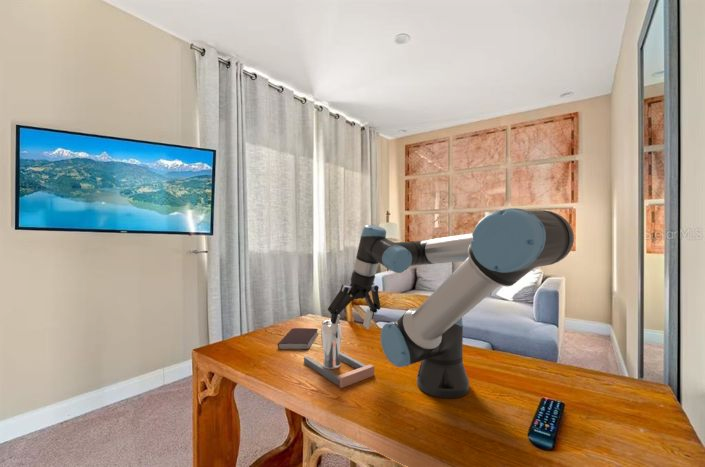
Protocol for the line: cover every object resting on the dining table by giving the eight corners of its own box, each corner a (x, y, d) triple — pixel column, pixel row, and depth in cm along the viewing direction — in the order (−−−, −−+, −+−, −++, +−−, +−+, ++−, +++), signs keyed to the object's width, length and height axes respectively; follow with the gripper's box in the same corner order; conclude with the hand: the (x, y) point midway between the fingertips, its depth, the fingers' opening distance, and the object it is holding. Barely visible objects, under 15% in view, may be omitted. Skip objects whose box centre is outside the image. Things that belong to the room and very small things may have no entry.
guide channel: (374, 375, 105) (374, 366, 105) (341, 387, 97) (341, 378, 97) (334, 353, 123) (334, 345, 123) (304, 362, 115) (303, 354, 115)
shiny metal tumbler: (342, 361, 116) (342, 320, 115) (340, 370, 109) (339, 326, 108) (323, 361, 116) (323, 319, 116) (319, 369, 109) (319, 325, 109)
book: (277, 350, 128) (277, 342, 128) (291, 334, 148) (291, 327, 148) (308, 351, 127) (308, 343, 127) (318, 334, 146) (318, 327, 146)
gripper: (386, 267, 116) (372, 320, 121) (326, 267, 102) (312, 327, 106) (399, 275, 110) (384, 330, 115) (337, 277, 96) (323, 340, 100)
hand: (350, 329), depth 110 cm, fingers open, 13 cm apart
